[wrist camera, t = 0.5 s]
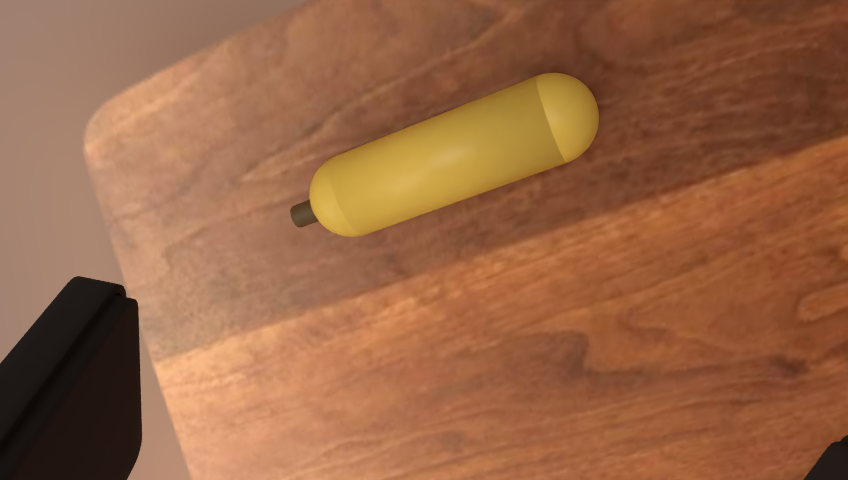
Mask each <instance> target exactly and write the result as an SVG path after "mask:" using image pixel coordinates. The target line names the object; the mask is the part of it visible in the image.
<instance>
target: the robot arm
mask: <svg viewBox="0 0 848 480" xmlns="http://www.w3.org/2000/svg"><path fill="white" fill-rule="evenodd" d="M141 421H142V419H141V387H140V353H139V317H138V303H137V301H136V300H135V299H132V298H127V297H126V291H125V289H124V287H123V286H122V285H119V284H115V283H110V282H105V281H100V280H95V279H90V278H85V277H80V276H77V277H74V278H73V279H71V280H70V282H68V283H67V285H66V286H65V287H64V288H63V289H62V291H61V292H60V293H59V294H58V295H57V297H56V298H55V299H54V300H53V301H52V303H51V304H50V305H49V306H48V307H47V308H46V310H45V311H44V312H43V313H42V314H41V316H40V317H39V318H38V319H37V320H36V322H35V323H34V324H33V325H32V326H31V328H30V329H29V330H28V331H27V333H26V334H25V335H24V336H23V337H22V338H21V340H20V341H19V342H18V343H17V344H16V346H15V347H14V348H13V349H12V350H11V351H10V353H9V354H8V355H7V356H6V358H5V359H4V360H3V361H2V362H1V363H0V480H127V478H128V476H129V475H130V473H131V471H132V469H133V467H134V465H135V463H136V460H137V458H138V455H139V451H140V447H141V442H142V422H141ZM804 480H848V435H847V436H845V437H844V438H843V439H842V440H841V441H840V442H834V443H832V444H831V445H830V446H829V447H828V448H827V449H826V450H825V452H824V453H823V454H822V456H821V457H820V458H819V460H818V461H817V462H816V464H815V465H814V467H813V468H812V469H811V471H810V472H809V473H808V475H807V476H806V477H805V479H804Z"/></svg>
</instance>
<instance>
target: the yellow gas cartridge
mask: <svg viewBox="0 0 848 480" xmlns="http://www.w3.org/2000/svg"><path fill="white" fill-rule="evenodd" d="M598 124H599V111H598V106H597V102H596V100H595V98H594V96H593V94H592V93H591V91H590V90H589V89H588V87H587V86H586V85H584V84H583V83H582V82H581V81H580V80H578V79H576V78H574V77H573V76H570V75H567V74H563V73H545V74H541V75H538V76H535V77H532V78H530V79H527V80H525V81H522V82H520V83H517V84H515V85H512V86H510V87H507V88H505V89H502V90H500V91H497V92H495V93H492V94H490V95H487V96H485V97H482V98H480V99H477V100H475V101H472V102H469V103H467V104H464V105H462V106H459V107H457V108H454V109H452V110H449V111H447V112H444V113H442V114H439V115H437V116H434V117H432V118H429V119H427V120H424V121H422V122H419V123H417V124H414V125H412V126H409V127H407V128H404V129H402V130H399V131H397V132H394V133H392V134H389V135H387V136H384V137H382V138H379V139H377V140H374V141H372V142H369V143H367V144H364V145H362V146H359V147H357V148H354V149H352V150H349V151H347V152H344V153H342V154H339V155H337V156H334V157H332V158H330V159H329V160H327V161H326V162H325V163H324V164H322V165H321V166H320V168H319V169H318V170H317V171H316V173H315V175H314V177H313V179H312V182H311V186H310V192H309V196H310V200H308V201H305V202H303V203H300V204H297V205H295V206H293V207H292V208H291V210H290V213H291V218H292V220H293V222H294V224H295V225H296V226H297V227H304V226H306V225H309V224H312V223H315V222H317V221H319V222H320V223H321V224H322V225H323V226H324V227H326V228H327V229H328V230H330V231H331V232H334V233H336V234H338V235H342V236H347V237H354V236H362V235H366V234H368V233H371V232H374V231H377V230H380V229H382V228H385V227H388V226H391V225H394V224H396V223H399V222H402V221H405V220H408V219H410V218H413V217H416V216H419V215H422V214H425V213H427V212H430V211H433V210H436V209H439V208H441V207H444V206H447V205H450V204H453V203H455V202H458V201H461V200H464V199H467V198H469V197H472V196H475V195H478V194H481V193H483V192H486V191H489V190H492V189H495V188H498V187H500V186H503V185H506V184H509V183H512V182H514V181H517V180H520V179H523V178H526V177H528V176H531V175H534V174H537V173H540V172H542V171H545V170H548V169H551V168H554V167H556V166H559V165H562V164H565V163H568V162H570V161H572V160H574V159H576V158H577V157H579V156H580V155H581V154H583V153H584V152H585V151H586V149H587V148H588V147H589V146H590V144H591V143H592V141H593V140H594V138H595V135H596V132H597V129H598Z"/></svg>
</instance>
